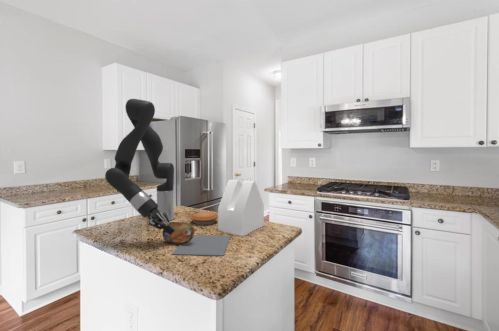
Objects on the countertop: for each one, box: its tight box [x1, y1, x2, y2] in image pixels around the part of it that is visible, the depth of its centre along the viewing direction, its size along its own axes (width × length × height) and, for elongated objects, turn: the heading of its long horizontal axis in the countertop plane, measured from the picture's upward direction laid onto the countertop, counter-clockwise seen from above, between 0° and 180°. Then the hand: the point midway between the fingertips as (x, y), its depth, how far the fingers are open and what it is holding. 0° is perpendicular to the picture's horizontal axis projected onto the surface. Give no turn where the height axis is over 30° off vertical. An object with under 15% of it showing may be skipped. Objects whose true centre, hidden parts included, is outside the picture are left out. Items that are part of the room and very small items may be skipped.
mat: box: [171, 234, 232, 257], centre depth 104 cm, size 20×22×1 cm
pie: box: [189, 211, 218, 226], centre depth 138 cm, size 15×16×5 cm
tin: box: [162, 221, 195, 244], centre depth 106 cm, size 15×3×8 cm, turn 68°
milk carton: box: [217, 179, 265, 237], centre depth 126 cm, size 19×15×25 cm
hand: (172, 232), depth 104 cm, fingers closed
